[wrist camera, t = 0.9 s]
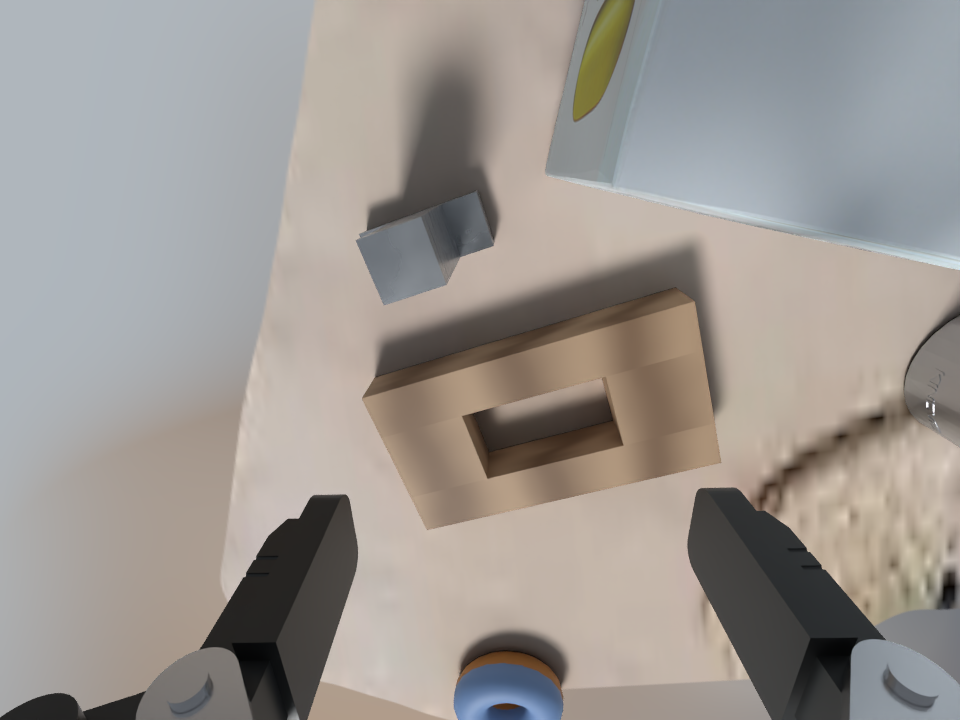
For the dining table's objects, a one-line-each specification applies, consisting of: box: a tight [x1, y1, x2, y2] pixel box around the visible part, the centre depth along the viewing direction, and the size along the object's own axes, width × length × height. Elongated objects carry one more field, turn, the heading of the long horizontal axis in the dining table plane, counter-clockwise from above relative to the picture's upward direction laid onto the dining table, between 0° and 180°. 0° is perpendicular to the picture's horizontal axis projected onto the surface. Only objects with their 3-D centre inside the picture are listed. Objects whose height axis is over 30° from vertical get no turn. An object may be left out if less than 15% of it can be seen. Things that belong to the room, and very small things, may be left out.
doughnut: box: [454, 651, 563, 720], centre depth 41 cm, size 10×10×5 cm
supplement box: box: [545, 0, 960, 270], centre depth 15 cm, size 13×13×18 cm
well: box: [362, 287, 721, 530], centre depth 29 cm, size 20×11×3 cm, turn 109°
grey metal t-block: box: [356, 190, 494, 305], centre depth 23 cm, size 7×3×8 cm, turn 109°
